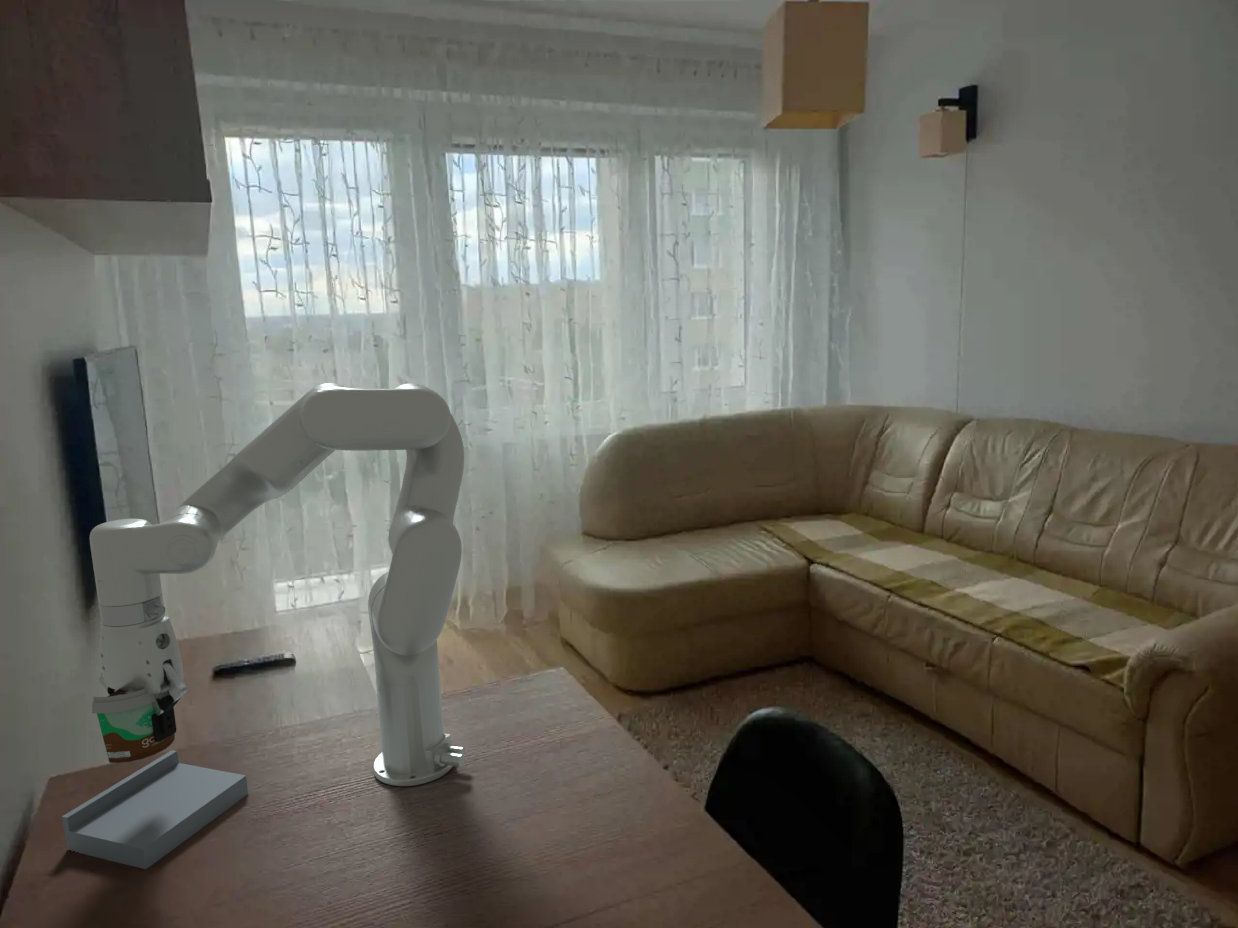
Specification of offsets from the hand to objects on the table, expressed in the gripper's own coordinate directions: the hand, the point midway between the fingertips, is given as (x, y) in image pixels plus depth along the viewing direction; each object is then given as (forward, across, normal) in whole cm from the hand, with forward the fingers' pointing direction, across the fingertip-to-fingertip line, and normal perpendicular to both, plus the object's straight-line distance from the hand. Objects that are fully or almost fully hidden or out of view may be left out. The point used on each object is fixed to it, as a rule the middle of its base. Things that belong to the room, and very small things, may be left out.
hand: (149, 732), depth 117 cm
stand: (+14, 0, 0) cm, 14 cm away
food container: (+2, -1, 0) cm, 2 cm away
